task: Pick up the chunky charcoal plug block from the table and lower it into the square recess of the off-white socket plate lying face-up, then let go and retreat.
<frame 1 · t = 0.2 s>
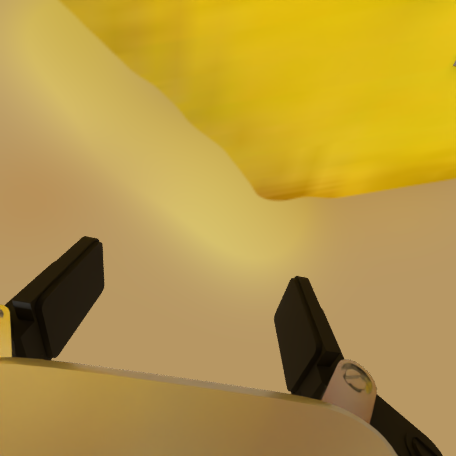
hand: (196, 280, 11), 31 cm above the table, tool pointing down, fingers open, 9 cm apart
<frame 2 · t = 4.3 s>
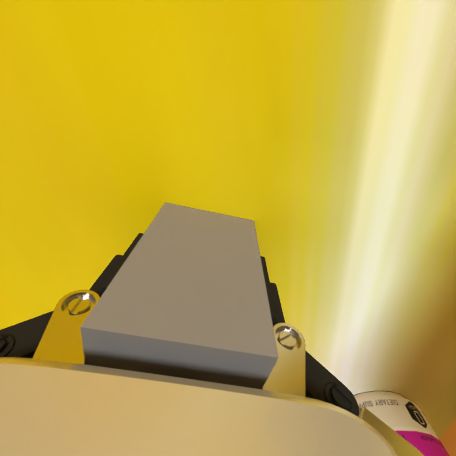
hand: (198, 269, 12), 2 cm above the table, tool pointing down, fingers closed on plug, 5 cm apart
supplement can: (368, 407, 23), on the table
plug: (202, 248, 14), on the table, touching gripper
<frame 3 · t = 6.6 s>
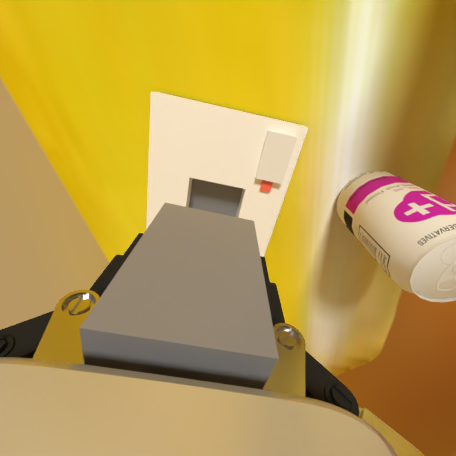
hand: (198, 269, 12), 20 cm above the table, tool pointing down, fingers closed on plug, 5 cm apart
supplement can: (365, 198, 32), on the table
plug: (202, 248, 14), point 18 cm above the table, touching gripper
socket: (215, 196, 32), on the table
when the fingers open (5 cm above the table, at t = 9.2 s): plug drops 2 cm, resting on socket.
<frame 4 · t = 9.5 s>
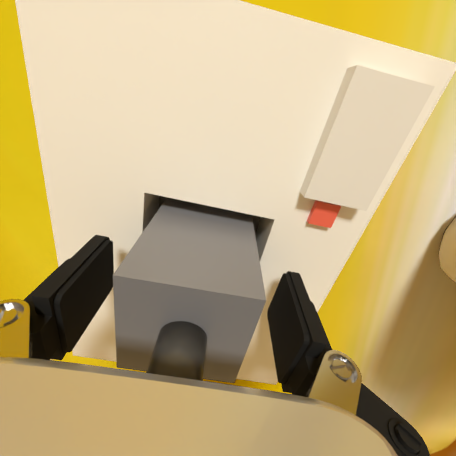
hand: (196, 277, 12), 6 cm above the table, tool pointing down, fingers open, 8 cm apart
plug: (205, 232, 16), point 1 cm above the table, touching socket
socket: (207, 226, 17), on the table
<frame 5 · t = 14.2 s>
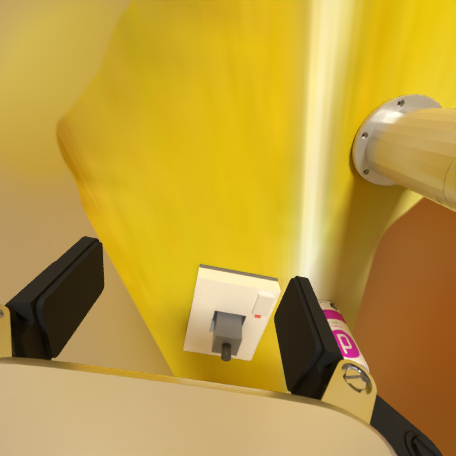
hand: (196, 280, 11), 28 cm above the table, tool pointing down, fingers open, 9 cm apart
supplement can: (318, 310, 52), on the table
plug: (227, 312, 51), point 1 cm above the table, touching socket
socket: (227, 309, 52), on the table
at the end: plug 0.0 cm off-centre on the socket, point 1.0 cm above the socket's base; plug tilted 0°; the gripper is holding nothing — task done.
